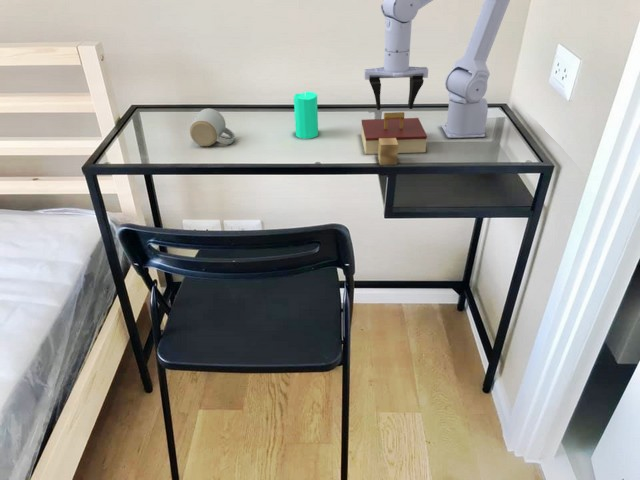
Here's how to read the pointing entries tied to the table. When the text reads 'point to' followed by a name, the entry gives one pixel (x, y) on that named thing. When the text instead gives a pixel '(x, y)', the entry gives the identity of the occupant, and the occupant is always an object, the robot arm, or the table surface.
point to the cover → (393, 127)
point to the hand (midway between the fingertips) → (394, 108)
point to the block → (387, 151)
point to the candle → (306, 115)
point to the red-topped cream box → (403, 145)
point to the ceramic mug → (210, 128)
